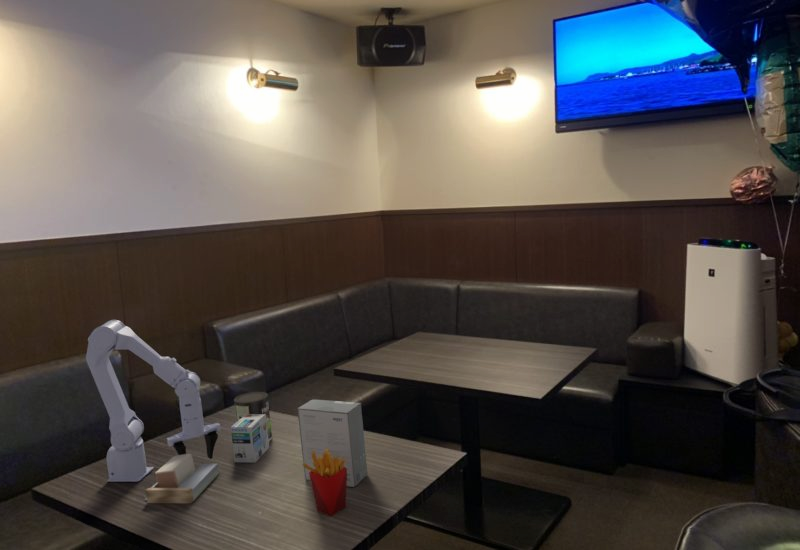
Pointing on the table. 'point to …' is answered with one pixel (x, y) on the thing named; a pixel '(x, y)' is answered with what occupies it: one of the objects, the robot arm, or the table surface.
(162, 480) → the cream rectangular block
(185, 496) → the shelf rail
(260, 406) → the coffee can
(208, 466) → the two-layer flat tile
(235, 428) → the light bulb box
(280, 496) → the table surface
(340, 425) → the hard drive box
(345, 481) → the french fries
